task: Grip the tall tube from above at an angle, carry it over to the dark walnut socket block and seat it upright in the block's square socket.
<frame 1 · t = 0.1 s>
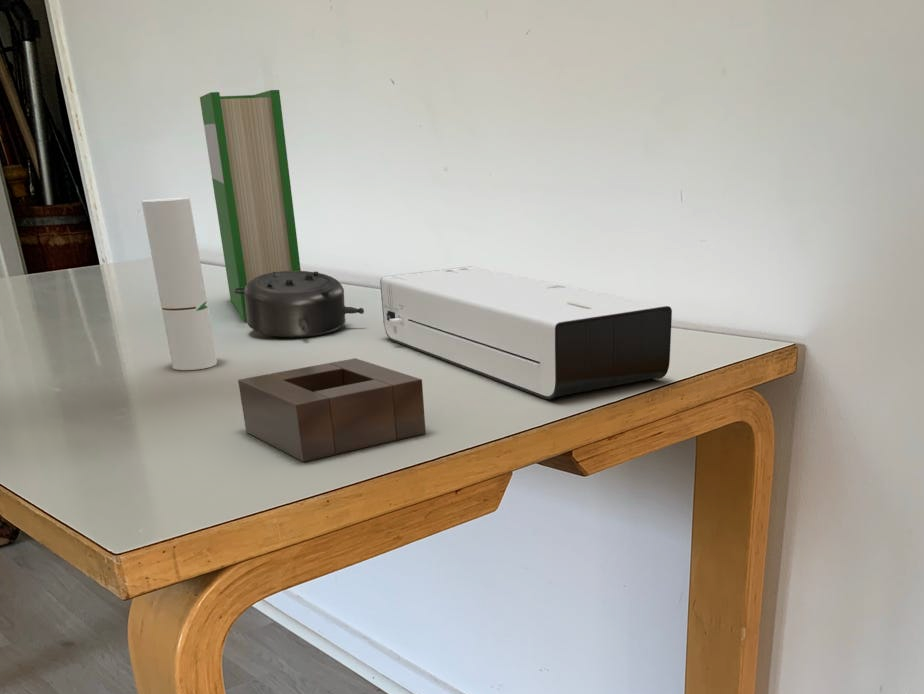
laminator: (505, 360, 94), on the table
tube: (195, 367, 98), on the table
hardback book: (266, 309, 126), on the table
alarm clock: (337, 309, 107), point 3 cm above the table
socket block: (334, 432, 74), on the table
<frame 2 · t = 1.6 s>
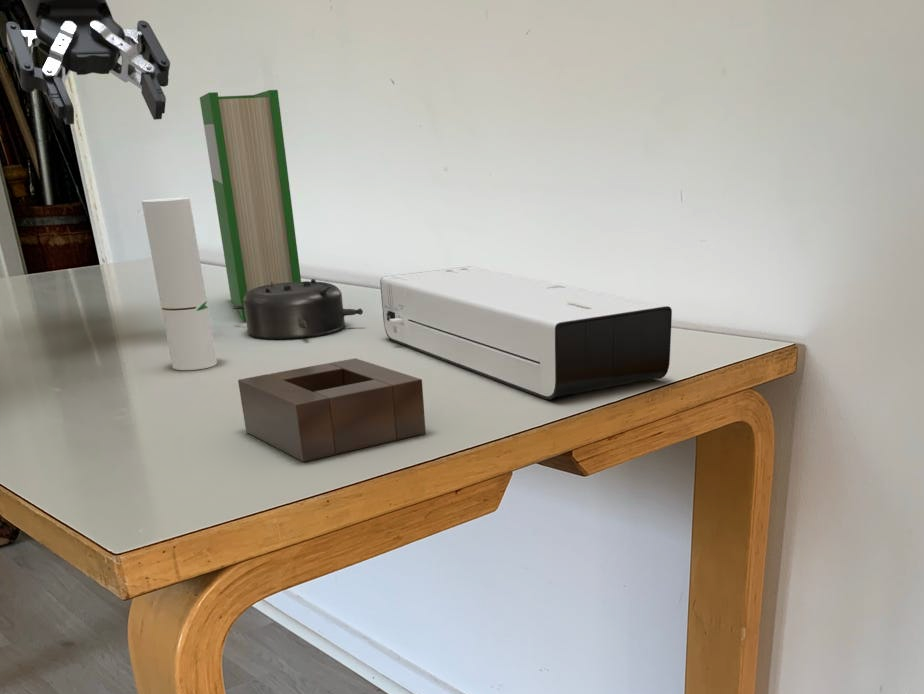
hand: (115, 115, 95), 22 cm above the table, tool tilted 45°, fingers open, 8 cm apart
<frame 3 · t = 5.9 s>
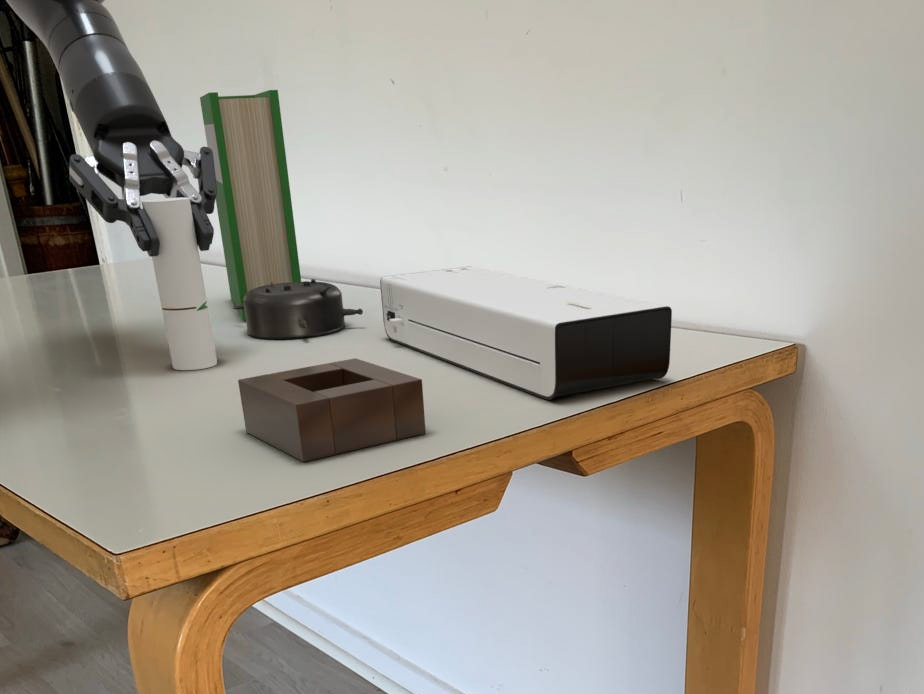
hand: (181, 246, 91), 11 cm above the table, tool tilted 45°, fingers closed on tube, 4 cm apart
tube: (195, 367, 98), on the table, touching gripper
when the fingers open (11 cm above the table, at t = 17.1 s): tube stays where it is, on the table.
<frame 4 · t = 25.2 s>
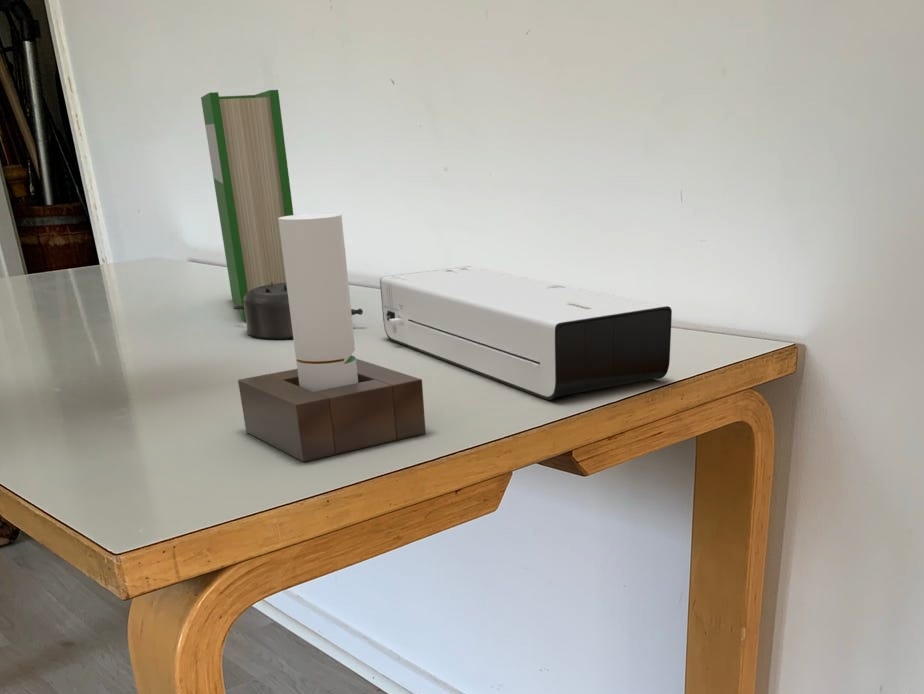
tube: (334, 435, 74), on the table
at the end: tube 0.0 cm off-centre in the socket block, point 0.0 cm above the socket block's base; tube tilted 0°; the gripper is holding nothing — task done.
